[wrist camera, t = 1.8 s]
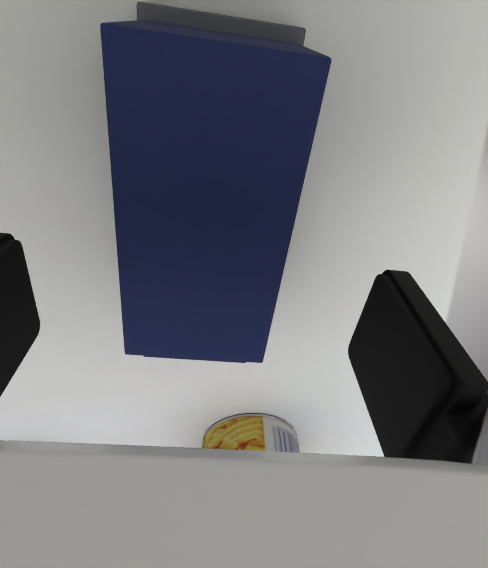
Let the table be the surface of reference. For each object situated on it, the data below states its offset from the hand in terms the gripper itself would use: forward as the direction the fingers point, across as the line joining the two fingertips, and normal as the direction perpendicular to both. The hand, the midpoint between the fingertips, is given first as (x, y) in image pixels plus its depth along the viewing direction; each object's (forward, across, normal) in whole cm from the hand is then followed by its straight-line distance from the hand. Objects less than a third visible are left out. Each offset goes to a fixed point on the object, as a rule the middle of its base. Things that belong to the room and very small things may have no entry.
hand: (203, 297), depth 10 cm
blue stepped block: (+10, 0, +1) cm, 10 cm away
